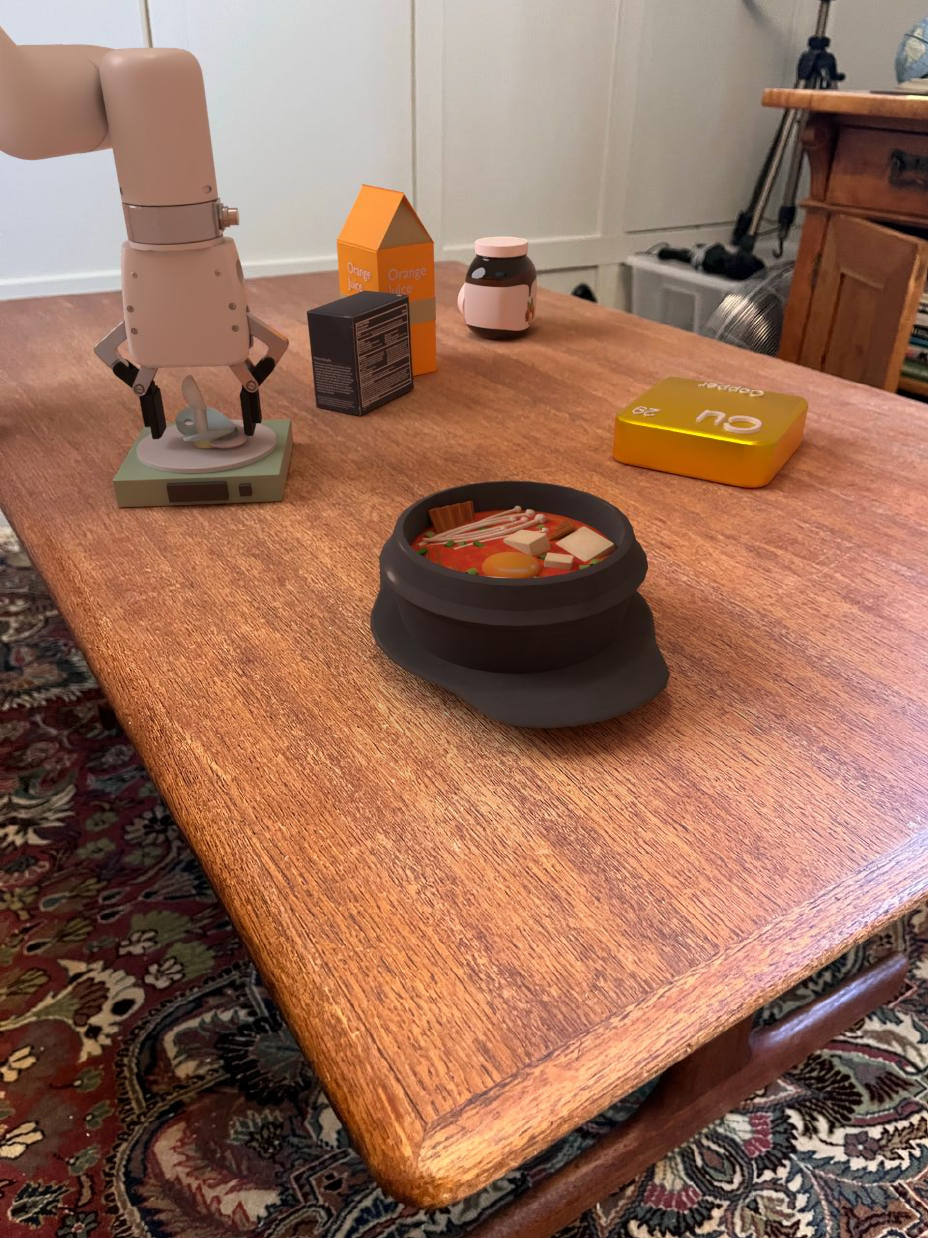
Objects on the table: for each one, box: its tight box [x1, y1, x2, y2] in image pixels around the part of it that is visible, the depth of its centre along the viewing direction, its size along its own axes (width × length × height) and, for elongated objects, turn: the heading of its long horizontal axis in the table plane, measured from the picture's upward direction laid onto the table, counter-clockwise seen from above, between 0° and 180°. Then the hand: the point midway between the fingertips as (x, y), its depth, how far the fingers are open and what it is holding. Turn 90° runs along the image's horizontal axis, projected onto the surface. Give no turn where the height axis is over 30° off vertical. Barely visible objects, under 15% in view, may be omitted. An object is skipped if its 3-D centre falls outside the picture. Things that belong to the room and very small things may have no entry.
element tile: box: [612, 376, 809, 489], centre depth 93 cm, size 15×15×5 cm
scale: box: [112, 418, 294, 508], centre depth 89 cm, size 14×14×3 cm
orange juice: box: [335, 183, 438, 377], centre depth 113 cm, size 8×9×20 cm
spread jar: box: [457, 235, 538, 341], centre depth 129 cm, size 12×11×12 cm
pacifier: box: [174, 374, 248, 448], centre depth 87 cm, size 7×6×6 cm
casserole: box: [369, 480, 671, 729], centre depth 63 cm, size 25×19×8 cm
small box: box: [306, 290, 415, 417], centre depth 106 cm, size 11×6×10 cm, turn 149°
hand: (205, 431), depth 88 cm, fingers open, 7 cm apart
